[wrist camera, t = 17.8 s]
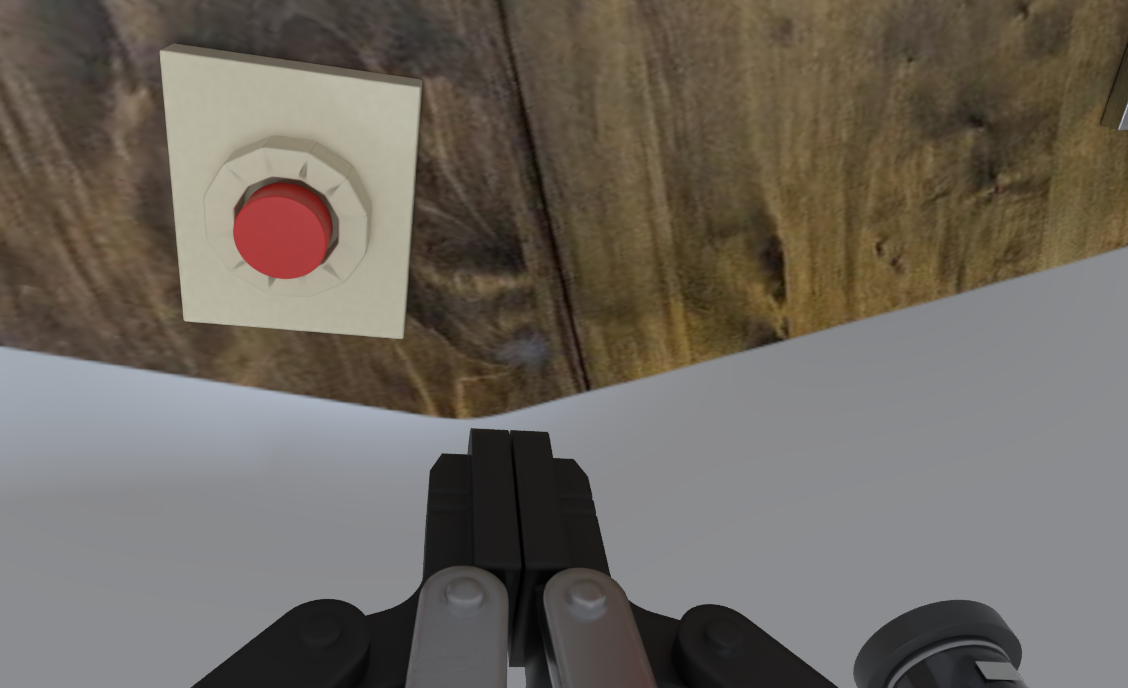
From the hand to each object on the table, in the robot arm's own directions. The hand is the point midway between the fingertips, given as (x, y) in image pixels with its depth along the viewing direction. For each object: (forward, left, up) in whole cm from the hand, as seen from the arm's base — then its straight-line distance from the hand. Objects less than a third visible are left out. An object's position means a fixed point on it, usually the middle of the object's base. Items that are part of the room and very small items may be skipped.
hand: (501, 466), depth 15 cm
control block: (-3, +8, -23) cm, 24 cm away
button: (-3, +8, -20) cm, 21 cm away
